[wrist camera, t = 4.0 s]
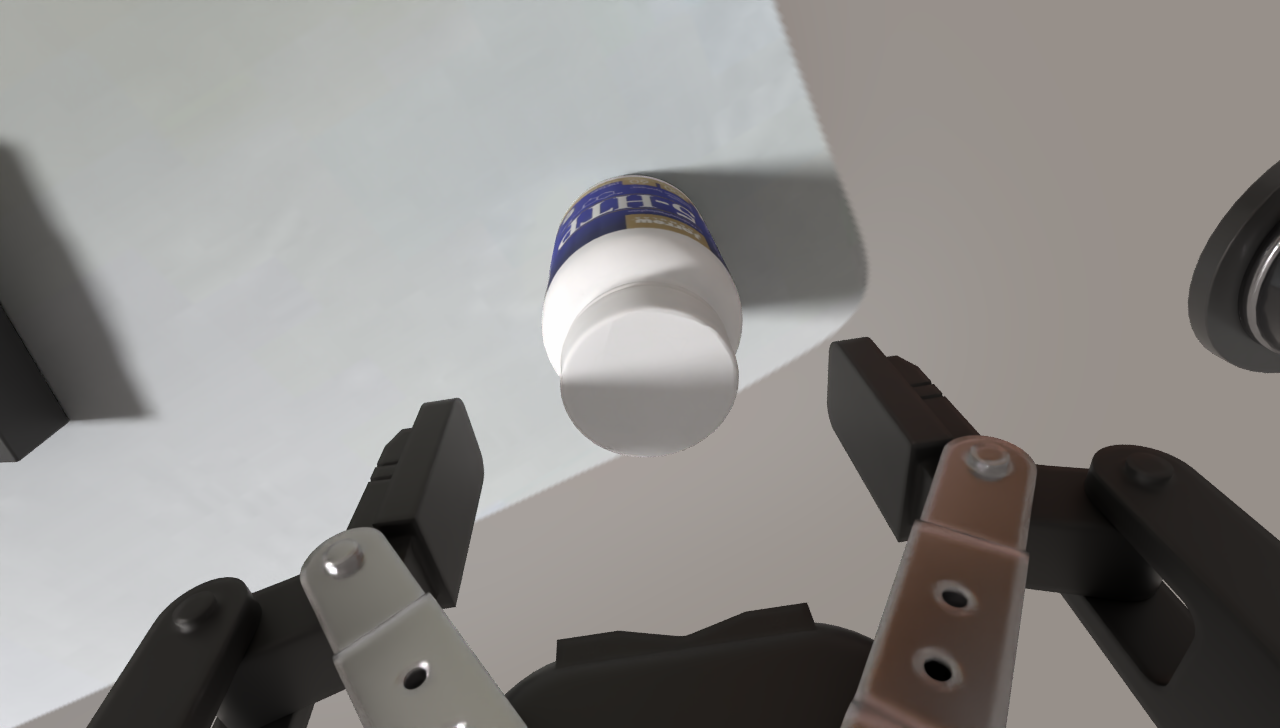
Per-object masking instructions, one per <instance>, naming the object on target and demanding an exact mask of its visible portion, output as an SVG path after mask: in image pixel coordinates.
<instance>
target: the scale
mask: <svg viewBox="0 0 1280 728" xmlns="http://www.w3.org/2000/svg"><path fill="white" fill-rule="evenodd" d="M68 422H69V421H68V419H67V417H66V415H65V414H64V412H63V410H62V409H61V407H60V405H59V403H58V402H57V400H56V398H55V397H54V395H53V393H52V392H51V390H50V388H49V387H48V385H47V383H46V381H45V380H44V378H43V376H42V375H41V373H40V371H39V370H38V368H37V366H36V365H35V363H34V361H33V359H32V358H31V356H30V354H29V353H28V351H27V349H26V348H25V346H24V344H23V343H22V341H21V339H20V338H19V336H18V334H17V332H16V331H15V329H14V327H13V326H12V324H11V322H10V321H9V319H8V317H7V316H6V314H5V312H4V310H3V309H2V307H1V305H0V462H18V461H20V460H21V459H22V458H24V457H25V456H26V455H28V454H29V453H30V452H31V451H33V450H34V449H35V448H36V447H38V446H39V445H40V444H41V443H43V442H44V441H45V440H47V439H48V438H49V437H50V436H52V435H53V434H54V433H55V432H57V431H58V430H59V429H60V428H62V427H63V426H64V425H66V424H67V423H68Z"/></svg>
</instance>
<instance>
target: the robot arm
mask: <svg viewBox="0 0 1280 728" xmlns="http://www.w3.org/2000/svg"><path fill="white" fill-rule="evenodd" d="M1238 316H1239V320H1240V323H1241V326H1242V328H1243V330H1244V331H1245V333H1246V334H1247V335H1248V336H1249V337H1250V338H1251V339H1252V340H1253V341H1255V342H1256V343H1258V344H1259V345H1261V346H1263V347H1265V348H1267V349H1269V350H1271V351H1273V352H1275V353H1278V354H1280V220H1279V221H1278V222H1277V223H1276V225H1275V226H1274V227H1273V228H1272V229H1271V231H1270V232H1269V233H1268V234H1267V236H1266V237H1265V239H1264V240H1263V241H1262V243H1261V244H1260V246H1259V247H1258V249H1257V250H1256V252H1255V254H1254V255H1253V257H1252V259H1251V261H1250V263H1249V265H1248V267H1247V269H1246V271H1245V274H1244V276H1243V279H1242V282H1241V285H1240V290H1239V294H1238ZM827 407H828V414H829V419H830V422H831V425H832V427H833V430H834V431H835V433H836V435H837V437H838V438H839V440H840V442H841V443H842V445H843V447H844V449H845V451H846V452H847V454H848V456H849V457H850V459H851V461H852V462H853V464H854V466H855V468H856V470H857V471H858V473H859V475H860V476H861V478H862V480H863V482H864V483H865V485H866V487H867V489H868V490H869V492H870V494H871V496H872V497H873V499H874V501H875V502H876V504H877V506H878V508H879V509H880V511H881V513H882V515H883V516H884V518H885V520H886V522H887V523H888V525H889V527H890V528H891V530H892V532H893V534H894V535H895V537H896V539H897V541H898V542H904V541H907V544H906V547H905V550H904V553H903V556H902V559H901V562H900V565H899V568H898V571H897V574H896V577H895V580H894V583H893V585H892V589H891V591H890V594H889V597H888V600H887V603H886V606H885V609H884V612H883V615H882V618H881V621H880V624H879V627H878V630H877V633H876V636H875V639H874V640H873V639H871V638H869V637H866V636H864V635H862V634H859V633H857V632H855V631H852V630H848V629H845V628H842V627H839V626H834V625H829V624H823V623H814V620H813V618H812V615H811V613H810V610H809V607H808V605H807V603H801V604H795V605H787V606H781V607H774V608H768V609H761V610H754V611H748V612H744V613H741V614H739V615H737V616H734V617H732V618H729V619H727V620H724V621H722V622H719V623H717V624H714V625H712V626H710V627H707V628H705V629H702V630H700V631H697V632H695V633H693V634H690V635H687V636H670V635H659V634H648V633H637V632H626V631H614V632H607V633H601V634H594V635H588V636H581V637H574V638H567V639H560V640H557V653H556V661H555V662H553V663H550V664H548V665H546V666H544V667H542V668H541V669H539V670H537V671H535V672H533V673H532V674H530V675H529V676H527V677H526V678H524V679H523V680H522V681H520V682H519V683H518V684H517V685H515V686H514V687H513V688H512V689H511V690H510V691H508V692H507V693H506V694H505V695H504V694H503V692H502V691H501V690H500V688H499V687H498V686H497V684H496V683H495V681H494V680H493V679H492V677H491V676H490V674H489V673H488V672H487V670H486V669H485V668H484V666H483V665H482V663H481V662H480V661H479V659H478V658H477V656H476V655H475V654H474V652H473V651H472V650H471V648H470V647H469V645H468V644H467V643H466V641H465V640H464V639H463V637H462V636H461V634H460V633H459V632H458V630H457V629H456V627H455V626H454V625H453V623H452V622H451V621H450V619H449V618H448V616H447V615H446V614H445V612H444V611H443V609H445V608H451V607H456V602H457V598H458V593H459V588H460V584H461V580H462V575H463V570H464V566H465V561H466V557H467V553H468V548H469V544H470V539H471V534H472V530H473V525H474V521H475V516H476V512H477V507H478V503H479V498H480V494H481V489H482V485H483V479H484V467H483V459H482V455H481V452H480V449H479V446H478V443H477V440H476V437H475V434H474V431H473V429H472V426H471V423H470V420H469V417H468V414H467V411H466V409H465V406H464V404H463V402H462V400H461V399H460V398H454V399H447V400H440V401H434V402H427V403H424V404H423V405H422V406H421V408H420V410H419V413H418V415H417V418H416V420H415V422H414V425H413V427H412V428H408V429H402V430H401V431H400V432H399V433H398V434H397V435H396V436H395V437H394V438H393V439H392V440H391V441H390V442H389V443H388V444H387V445H386V446H385V448H384V450H383V452H382V454H381V456H380V458H379V461H378V463H377V467H375V469H374V471H373V474H372V476H371V478H370V479H371V482H368V484H367V487H366V489H365V491H364V493H363V495H362V497H361V500H360V502H359V504H358V506H357V508H356V510H355V513H354V515H353V517H352V519H351V521H350V523H349V526H348V528H347V530H346V531H343V532H341V533H339V534H337V535H335V536H333V537H331V538H329V539H328V540H326V541H325V542H323V543H322V544H321V545H319V546H318V547H317V548H316V549H315V550H314V551H313V552H312V553H311V554H310V555H309V556H308V558H307V559H306V561H305V562H304V564H303V566H302V568H301V572H300V575H297V576H295V577H293V578H290V579H288V580H285V581H282V582H280V583H277V584H275V585H272V586H270V587H267V588H265V589H262V590H259V591H257V592H254V593H251V592H250V590H249V589H248V587H247V586H246V585H245V583H244V582H243V581H242V580H240V579H238V578H233V577H224V578H218V579H214V580H211V581H208V582H205V583H203V584H201V585H198V586H196V587H194V588H193V589H191V590H189V591H187V592H186V593H184V594H183V595H181V596H180V597H178V598H177V599H176V600H175V601H173V602H172V603H171V604H170V605H169V606H168V607H167V608H166V609H165V610H164V611H163V612H162V613H161V614H160V615H159V616H158V618H157V619H156V621H155V622H154V623H153V625H152V626H151V628H150V630H149V631H148V633H147V634H146V636H145V637H144V639H143V640H142V642H141V644H140V645H139V647H138V648H137V650H136V651H135V653H134V654H133V656H132V658H131V659H130V661H129V662H128V664H127V665H126V667H125V669H124V670H123V672H122V673H121V675H120V676H119V678H118V679H117V681H116V683H115V684H114V686H113V687H112V689H111V690H110V692H109V693H108V695H107V697H106V698H105V700H104V701H103V703H102V704H101V706H100V708H99V709H98V711H97V712H96V714H95V715H94V717H93V718H92V720H91V722H90V723H89V725H88V726H87V728H210V727H211V725H212V723H213V721H214V719H215V716H217V718H216V720H215V722H214V725H213V727H212V728H306V727H307V725H308V721H309V719H310V716H311V712H312V710H313V706H314V704H315V703H316V702H318V701H320V700H322V699H324V698H327V697H329V696H331V695H333V694H336V693H338V692H340V691H342V690H344V689H346V691H347V693H348V695H349V697H350V699H351V701H352V703H353V706H354V708H355V710H356V712H357V714H358V716H359V718H360V721H361V723H362V725H363V727H364V728H1006V723H1007V716H1008V709H1009V708H1008V707H1009V700H1010V694H1011V687H1012V679H1013V672H1014V665H1015V658H1016V650H1017V643H1018V636H1019V629H1020V621H1021V614H1022V607H1023V599H1024V592H1025V588H1027V589H1034V590H1042V591H1050V592H1058V593H1061V595H1062V596H1063V598H1064V599H1065V600H1066V602H1067V603H1068V604H1069V606H1070V607H1071V608H1072V610H1073V611H1074V613H1075V614H1076V616H1077V617H1078V618H1079V620H1080V621H1081V623H1082V624H1083V625H1084V627H1085V628H1086V629H1087V630H1088V632H1089V634H1090V635H1091V636H1092V638H1093V639H1094V640H1095V641H1096V643H1097V645H1098V646H1099V647H1100V649H1101V650H1102V652H1103V653H1104V654H1105V656H1106V657H1107V658H1108V660H1109V661H1110V663H1111V664H1112V665H1113V667H1114V668H1115V669H1116V671H1117V672H1118V674H1119V675H1120V676H1121V678H1122V679H1123V681H1124V682H1125V683H1126V685H1127V686H1128V687H1129V689H1130V690H1131V692H1132V693H1133V694H1134V696H1135V697H1136V699H1137V700H1138V701H1139V703H1140V704H1141V705H1142V707H1143V708H1144V710H1145V711H1146V712H1147V714H1148V715H1149V717H1150V718H1151V719H1152V721H1153V722H1154V723H1155V725H1156V726H1157V728H1280V541H1279V540H1278V539H1277V538H1276V537H1274V536H1273V535H1272V534H1271V533H1269V532H1268V531H1267V530H1266V529H1265V528H1264V527H1263V526H1261V525H1260V524H1259V523H1258V522H1257V521H1255V520H1254V519H1253V518H1252V517H1251V516H1249V515H1248V514H1247V513H1246V512H1245V511H1243V510H1242V509H1241V508H1240V507H1238V506H1237V505H1236V504H1235V503H1234V502H1233V501H1231V500H1230V499H1229V498H1228V497H1227V496H1225V495H1224V494H1223V493H1222V492H1220V491H1219V490H1218V489H1217V488H1216V487H1215V486H1213V485H1212V484H1211V483H1210V482H1209V481H1207V480H1206V479H1205V478H1204V477H1203V476H1201V475H1200V474H1199V473H1198V472H1197V471H1195V470H1194V469H1193V468H1192V467H1190V466H1189V465H1187V464H1186V463H1185V462H1183V461H1181V460H1180V459H1178V458H1176V457H1173V456H1172V455H1169V454H1167V453H1164V452H1162V451H1159V450H1155V449H1152V448H1147V447H1143V446H1136V445H1114V446H1108V447H1105V448H1102V449H1101V450H1099V451H1098V452H1097V453H1095V455H1094V457H1093V459H1092V462H1091V465H1090V468H1089V469H1085V468H1071V467H1058V466H1045V465H1037V464H1035V463H1034V461H1033V460H1032V458H1031V457H1030V456H1029V455H1028V454H1027V453H1026V452H1024V451H1023V450H1022V449H1020V448H1019V447H1017V446H1016V445H1014V444H1011V443H1009V442H1007V441H1004V440H1001V439H998V438H994V437H988V436H981V435H980V434H979V433H978V432H977V431H976V430H975V429H974V428H973V427H972V425H971V424H970V423H969V422H968V421H967V420H966V419H965V418H964V417H963V416H962V415H961V413H960V412H959V411H958V410H957V409H956V408H955V407H954V406H953V405H952V404H951V402H950V401H949V400H948V399H947V398H946V397H945V396H944V397H943V396H942V393H941V391H940V390H939V389H938V388H937V387H936V386H935V385H934V384H931V381H930V379H928V377H927V376H926V375H925V374H924V373H923V372H922V371H921V370H920V368H919V367H917V366H916V365H913V364H912V363H910V362H908V361H906V360H904V359H902V358H900V357H898V356H890V357H886V356H885V355H884V354H883V353H882V351H881V350H880V349H879V348H878V347H877V346H876V344H875V343H874V342H873V341H872V340H871V339H870V338H869V337H862V338H856V339H850V340H842V341H836V342H832V343H831V345H830V348H829V365H828V391H827ZM1162 580H1164V581H1165V582H1166V583H1167V584H1168V585H1169V586H1170V587H1171V588H1172V590H1173V591H1174V592H1175V593H1176V594H1177V595H1178V596H1179V597H1180V598H1181V600H1182V601H1183V602H1184V603H1185V605H1186V606H1187V607H1186V606H1185V605H1184V604H1183V603H1182V602H1181V601H1180V600H1179V599H1178V598H1177V597H1176V595H1175V594H1174V593H1173V592H1172V591H1171V590H1170V589H1169V588H1168V587H1167V586H1166V584H1164V582H1163V581H1162ZM1188 609H1189V610H1188Z"/></svg>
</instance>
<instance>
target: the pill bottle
mask: <svg viewBox="0 0 1280 728" xmlns="http://www.w3.org/2000/svg"><path fill="white" fill-rule="evenodd" d="M741 332H742V308H741V302H740V298H739V295H738V291H737V289H736V286H735V283H734V281H733V279H732V277H731V275H730V272H729V271H728V269H727V267H726V265H725V263H724V261H723V258H722V257H721V255H720V252H719V250H718V248H717V246H716V244H715V242H714V240H713V238H712V236H711V234H710V232H709V230H708V228H707V225H706V224H705V222H704V220H703V218H702V216H701V214H700V213H699V211H698V209H697V208H696V206H695V205H694V204H693V203H692V201H691V200H690V199H689V198H688V197H687V196H686V195H685V194H684V193H683V192H681V191H680V190H679V189H677V188H676V187H674V186H673V185H671V184H669V183H667V182H665V181H662V180H659V179H656V178H653V177H648V176H640V175H624V176H618V177H613V178H610V179H606V180H604V181H601V182H599V183H597V184H595V185H593V186H592V187H590V188H589V189H587V190H586V191H585V192H583V193H582V194H581V195H580V196H579V197H578V198H577V199H576V200H575V201H574V202H573V203H572V204H571V206H570V207H569V208H568V210H567V211H566V213H565V215H564V217H563V218H562V221H561V223H560V226H559V228H558V232H557V235H556V240H555V245H554V250H553V255H552V261H551V266H550V272H549V277H548V282H547V288H546V293H545V299H544V304H543V313H542V335H543V341H544V346H545V349H546V352H547V355H548V358H549V360H550V362H551V364H552V366H553V367H554V369H555V371H556V372H557V374H558V375H559V376H560V378H561V380H560V386H561V396H562V400H563V404H564V407H565V409H566V412H567V413H568V416H569V417H570V419H571V421H572V422H573V423H574V425H575V426H576V427H577V429H578V430H579V431H580V432H581V433H582V434H583V435H584V436H585V437H587V438H588V439H589V440H591V441H592V442H593V443H595V444H597V445H598V446H600V447H602V448H604V449H607V450H609V451H612V452H614V453H618V454H622V455H627V456H634V457H656V456H665V455H669V454H673V453H677V452H679V451H683V450H685V449H687V448H690V447H692V446H694V445H696V444H697V443H699V442H701V441H702V440H704V439H705V438H707V437H708V436H709V435H710V434H712V433H713V432H714V431H715V430H716V429H717V428H718V427H719V426H720V424H721V423H722V422H723V421H724V419H725V418H726V416H727V415H728V413H729V412H730V410H731V408H732V406H733V404H734V401H735V398H736V394H737V390H738V379H739V371H738V365H737V360H736V357H735V354H736V352H737V349H738V346H739V342H740V338H741Z"/></svg>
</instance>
